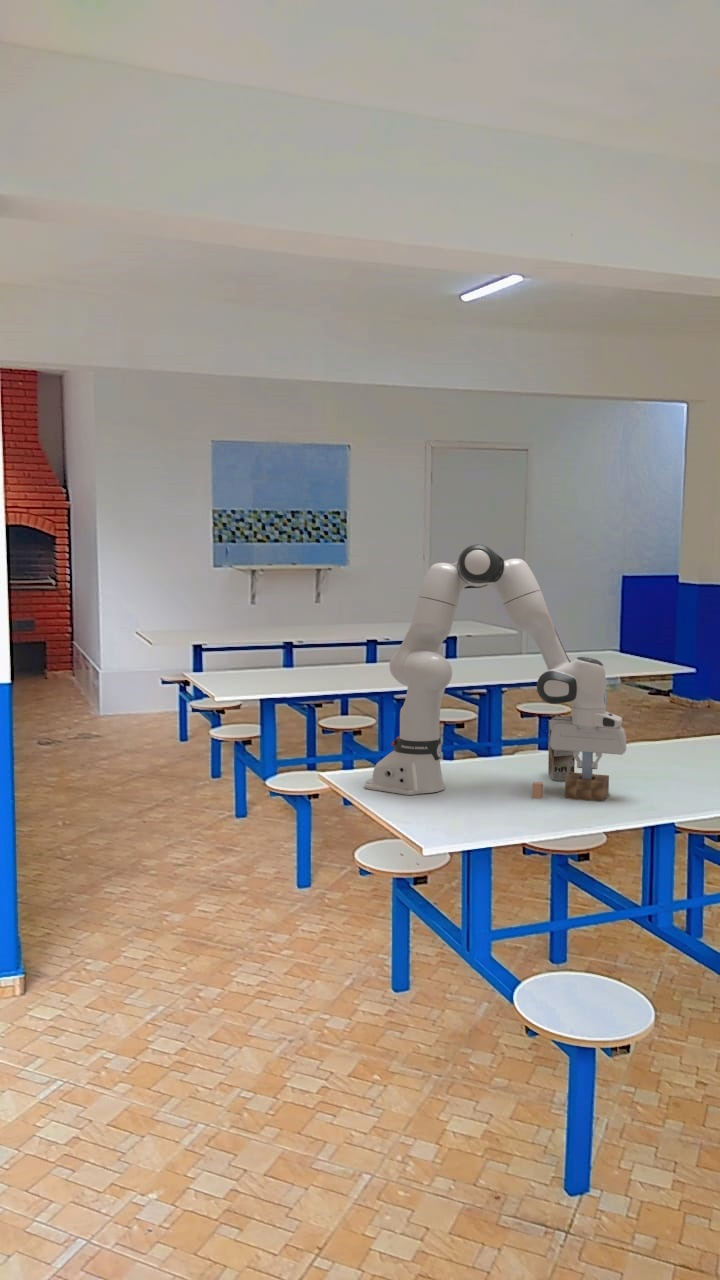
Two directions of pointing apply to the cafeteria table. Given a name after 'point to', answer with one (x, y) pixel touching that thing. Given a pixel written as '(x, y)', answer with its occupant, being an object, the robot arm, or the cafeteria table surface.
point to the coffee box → (560, 763)
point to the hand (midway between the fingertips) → (587, 768)
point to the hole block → (587, 787)
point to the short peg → (537, 790)
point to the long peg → (587, 765)
